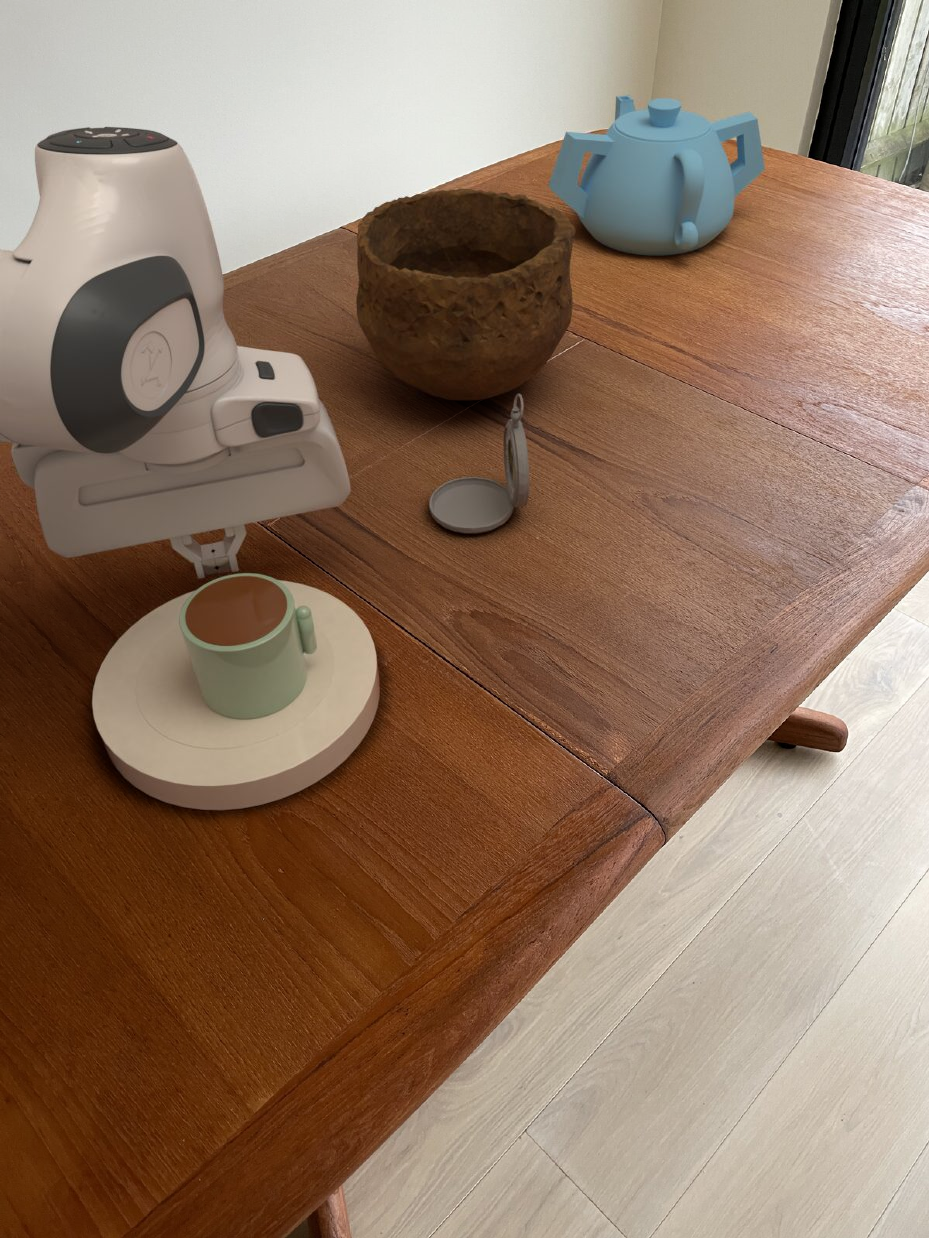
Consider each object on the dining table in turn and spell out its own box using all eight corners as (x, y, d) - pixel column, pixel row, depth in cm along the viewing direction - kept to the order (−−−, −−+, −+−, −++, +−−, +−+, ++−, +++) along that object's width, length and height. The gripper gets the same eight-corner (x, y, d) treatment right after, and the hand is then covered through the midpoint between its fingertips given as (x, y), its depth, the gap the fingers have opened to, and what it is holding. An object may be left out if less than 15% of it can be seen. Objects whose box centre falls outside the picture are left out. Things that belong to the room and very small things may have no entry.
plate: (106, 842, 59) (94, 817, 57) (98, 634, 71) (89, 609, 69) (408, 769, 62) (406, 743, 60) (350, 582, 74) (346, 557, 73)
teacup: (205, 730, 61) (183, 661, 57) (194, 653, 66) (173, 584, 62) (330, 702, 63) (318, 632, 59) (311, 629, 67) (298, 559, 63)
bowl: (609, 373, 95) (622, 214, 85) (484, 466, 85) (481, 298, 74) (455, 317, 104) (449, 166, 93) (324, 394, 93) (302, 235, 83)
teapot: (759, 217, 119) (780, 90, 110) (688, 281, 108) (705, 146, 99) (614, 187, 128) (622, 66, 118) (535, 243, 116) (536, 115, 107)
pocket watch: (413, 509, 81) (404, 400, 74) (492, 468, 84) (491, 360, 77) (479, 559, 76) (477, 447, 69) (561, 513, 80) (566, 402, 73)
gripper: (-2, 459, 59) (68, 629, 69) (343, 400, 63) (364, 569, 72) (3, 404, 63) (68, 571, 73) (325, 352, 67) (346, 517, 77)
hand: (217, 570), depth 73 cm, fingers closed
